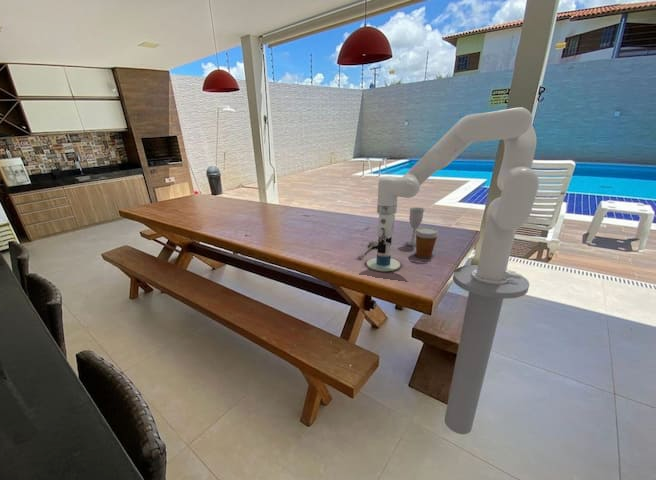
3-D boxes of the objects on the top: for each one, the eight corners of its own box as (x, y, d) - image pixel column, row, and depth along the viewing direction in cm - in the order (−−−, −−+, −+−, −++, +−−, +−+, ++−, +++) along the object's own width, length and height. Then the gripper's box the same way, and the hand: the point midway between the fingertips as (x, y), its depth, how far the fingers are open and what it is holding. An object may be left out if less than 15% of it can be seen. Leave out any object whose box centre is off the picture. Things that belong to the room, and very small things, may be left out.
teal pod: (391, 261, 133) (392, 252, 131) (388, 266, 129) (389, 256, 127) (378, 259, 136) (378, 250, 134) (374, 264, 131) (375, 255, 129)
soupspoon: (384, 246, 154) (371, 244, 157) (384, 240, 152) (372, 238, 156) (365, 260, 137) (352, 258, 141) (366, 253, 136) (352, 251, 140)
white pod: (391, 252, 131) (391, 242, 130) (388, 256, 127) (388, 246, 125) (379, 250, 134) (379, 241, 132) (375, 254, 130) (376, 245, 128)
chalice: (403, 242, 156) (407, 207, 149) (417, 241, 156) (421, 207, 148) (407, 247, 150) (412, 211, 142) (421, 247, 150) (426, 211, 142)
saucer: (403, 261, 135) (403, 259, 134) (396, 273, 124) (396, 271, 123) (371, 257, 141) (371, 255, 141) (362, 268, 130) (362, 266, 130)
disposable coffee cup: (426, 261, 134) (430, 235, 128) (408, 254, 141) (411, 230, 136) (439, 256, 138) (443, 230, 133) (421, 249, 145) (424, 225, 140)
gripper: (391, 214, 114) (388, 257, 121) (400, 204, 128) (397, 243, 135) (371, 213, 118) (369, 254, 124) (382, 204, 131) (380, 241, 138)
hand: (384, 249), depth 130 cm, fingers open, 9 cm apart
